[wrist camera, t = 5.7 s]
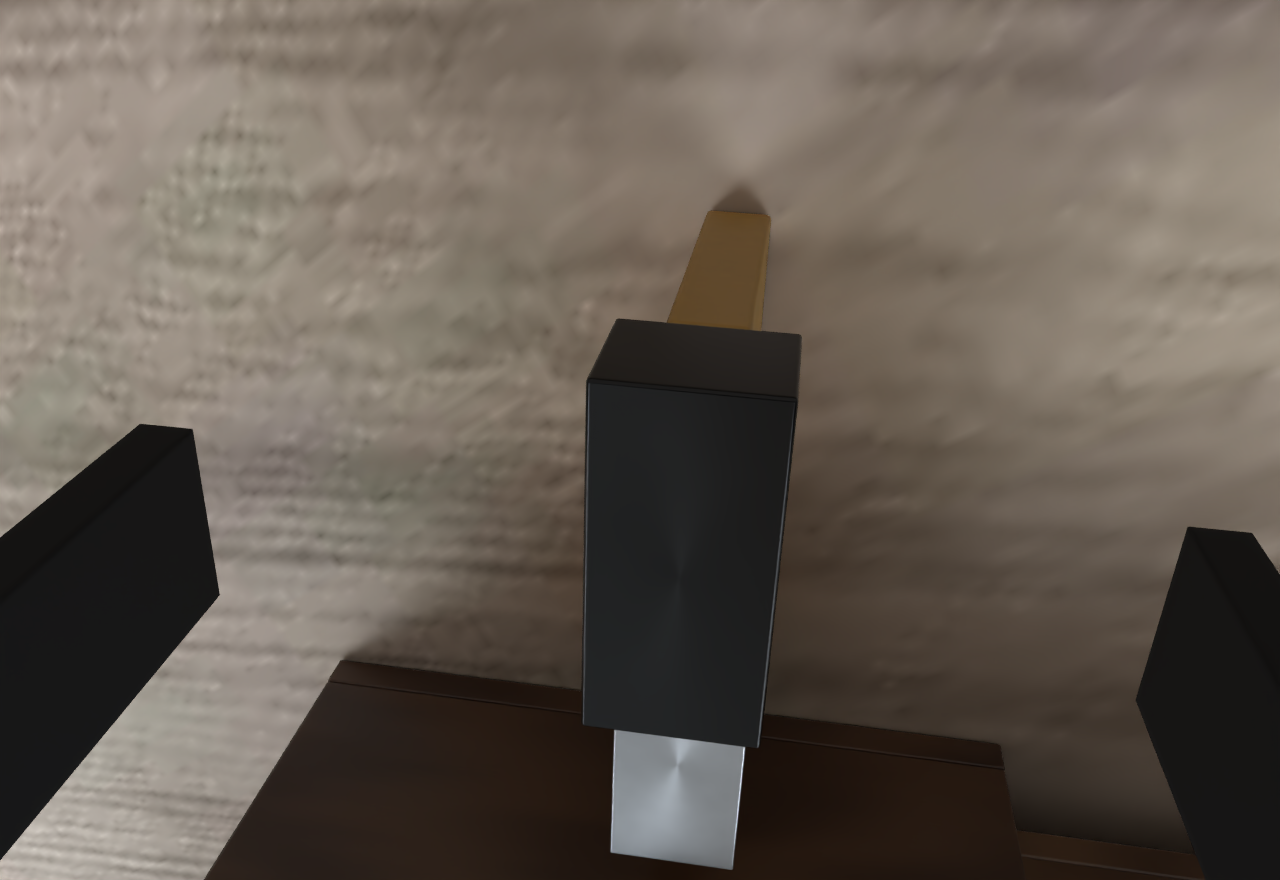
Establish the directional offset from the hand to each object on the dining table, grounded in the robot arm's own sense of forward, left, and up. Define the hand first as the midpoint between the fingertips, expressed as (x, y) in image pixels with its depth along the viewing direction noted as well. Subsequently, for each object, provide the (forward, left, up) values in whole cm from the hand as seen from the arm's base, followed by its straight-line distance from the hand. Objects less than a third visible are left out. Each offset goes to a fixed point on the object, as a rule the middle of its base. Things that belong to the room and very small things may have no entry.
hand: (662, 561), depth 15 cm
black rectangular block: (+2, 0, -2) cm, 3 cm away
